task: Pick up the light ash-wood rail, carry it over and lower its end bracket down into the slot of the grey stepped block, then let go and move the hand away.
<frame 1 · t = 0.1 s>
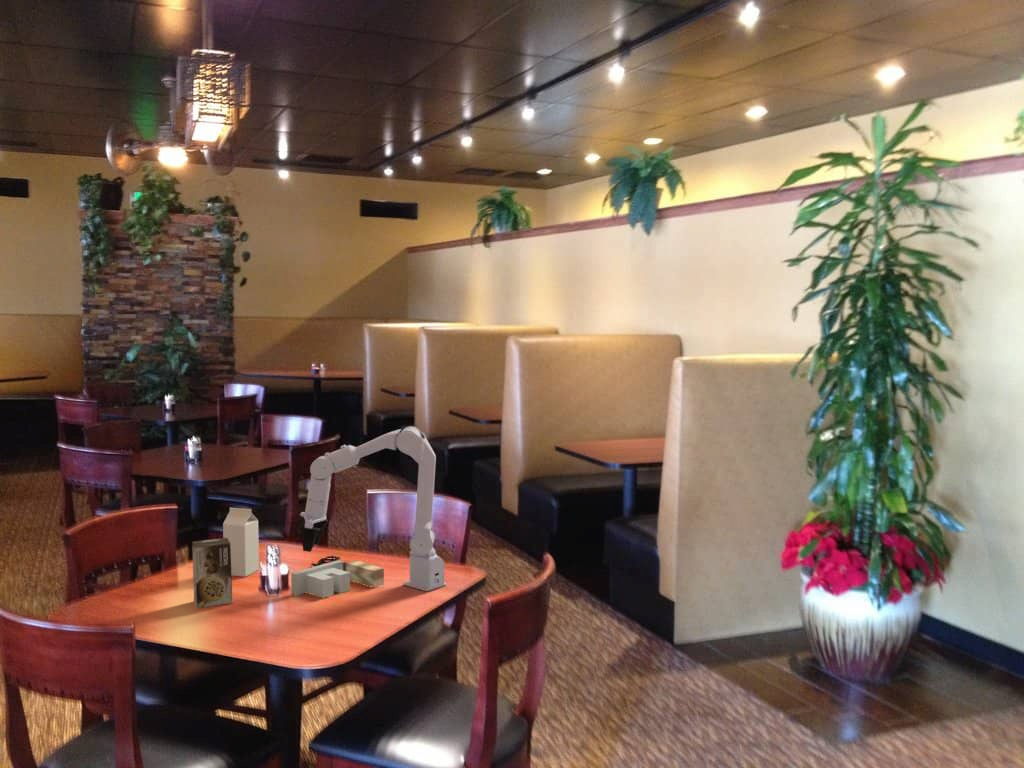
hand: (310, 547, 244), 11 cm above the table, tool pointing down, fingers open, 7 cm apart
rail: (364, 582, 247), on the table
grey stepped block: (328, 591, 238), on the table
milk carton: (241, 573, 255), on the table
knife: (318, 572, 258), on the table
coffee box: (212, 603, 229), on the table
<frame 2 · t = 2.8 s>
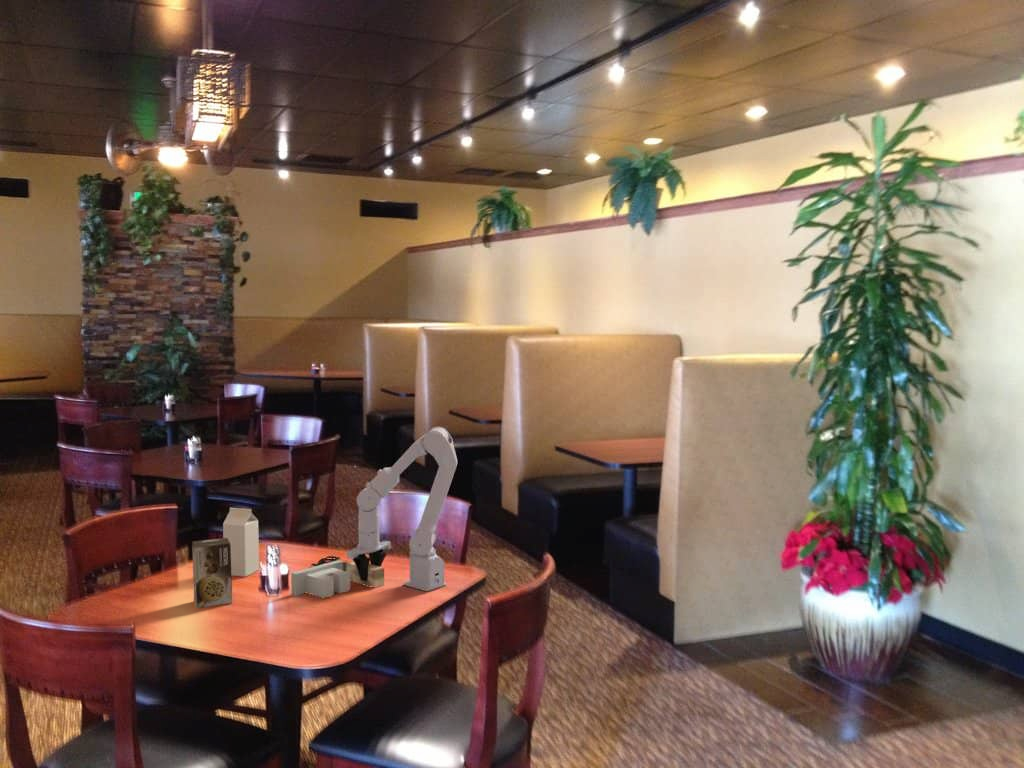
hand: (369, 578, 246), 1 cm above the table, tool pointing down, fingers closed on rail, 3 cm apart
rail: (365, 582, 247), on the table, touching gripper
everything else where it was.
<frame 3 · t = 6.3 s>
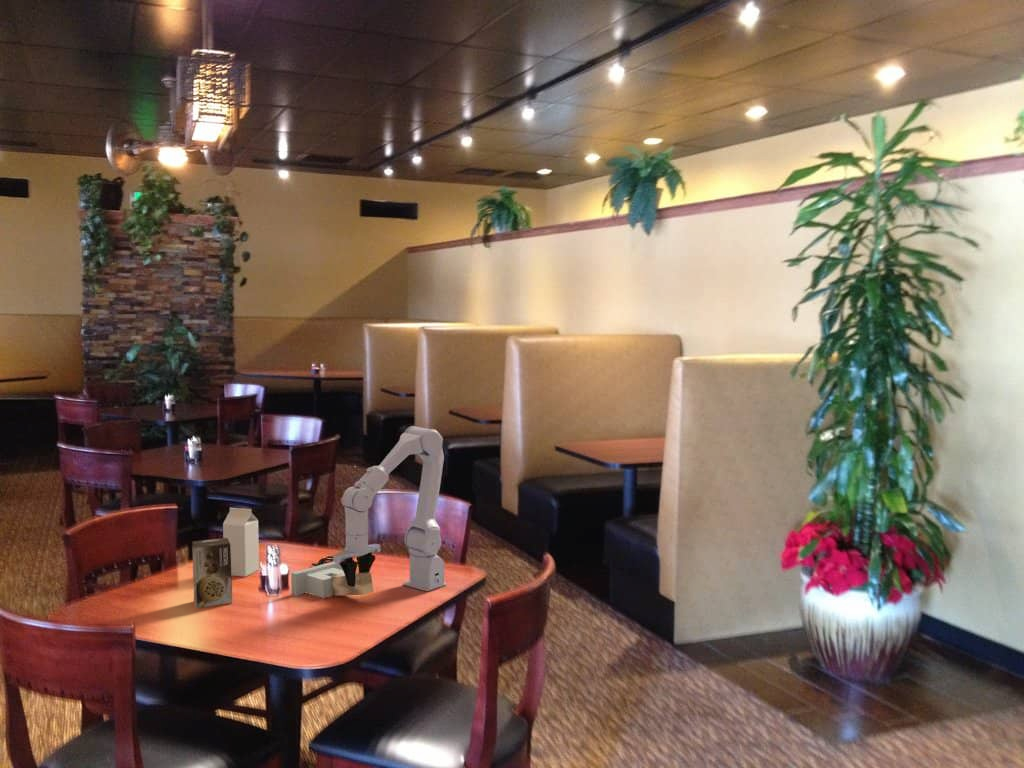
hand: (357, 584, 230), 5 cm above the table, tool pointing down, fingers closed on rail, 3 cm apart
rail: (353, 593, 232), point 2 cm above the table, tilted 13°, touching gripper, grey stepped block
everything else where it was.
when the fingers open (3 cm above the table, at t = 7.7 s): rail stays where it is, on the table.
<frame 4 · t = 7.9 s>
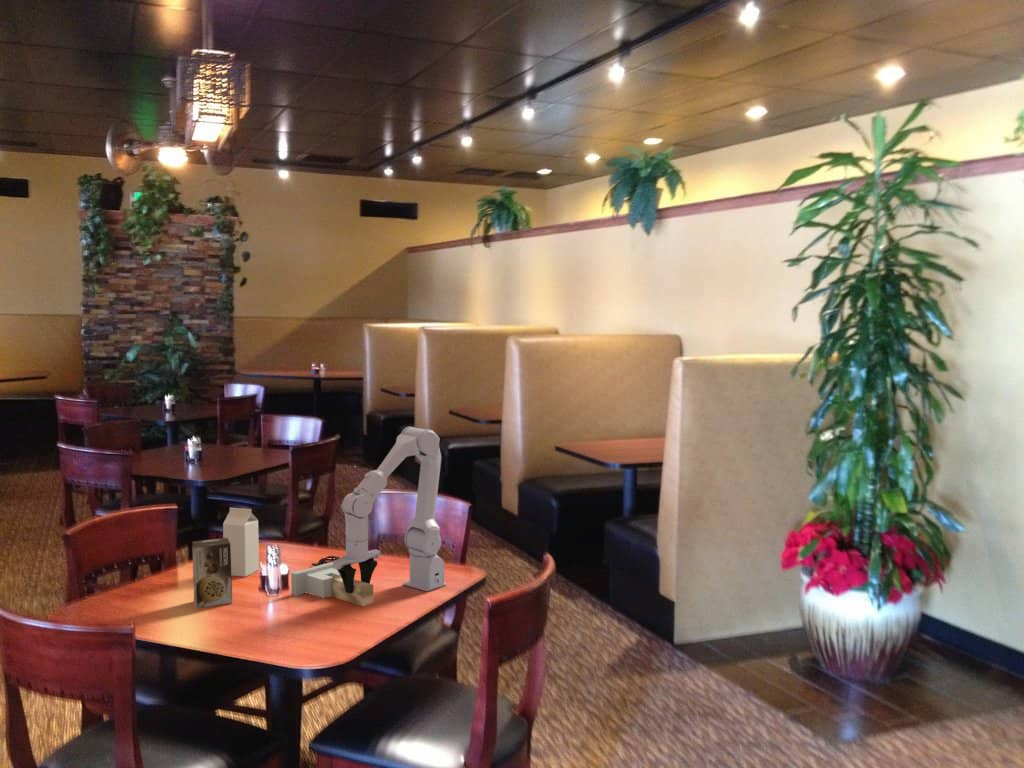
hand: (357, 590, 231), 3 cm above the table, tool pointing down, fingers open, 5 cm apart
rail: (353, 600, 232), on the table
everything else where it was.
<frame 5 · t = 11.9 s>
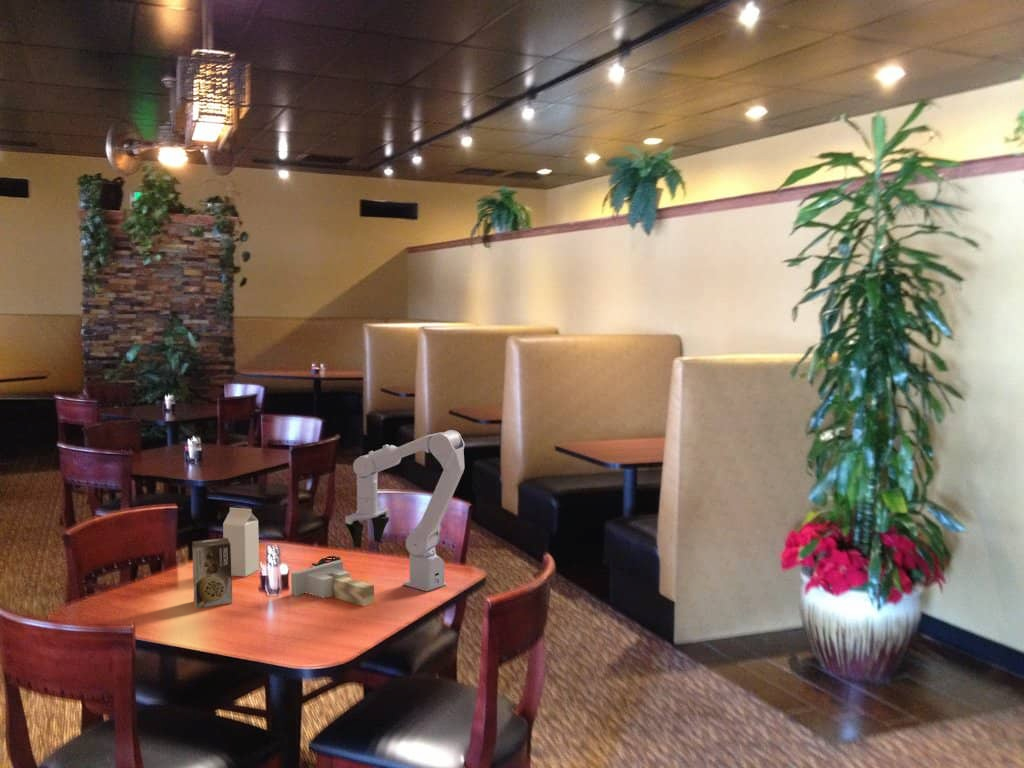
hand: (367, 544, 250), 10 cm above the table, tool pointing down, fingers open, 7 cm apart
nothing on the table moved.
at the end: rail 0.6 cm from the target spot on the table beside the grey stepped block, on the table; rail tilted 0°; the gripper is holding nothing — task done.
